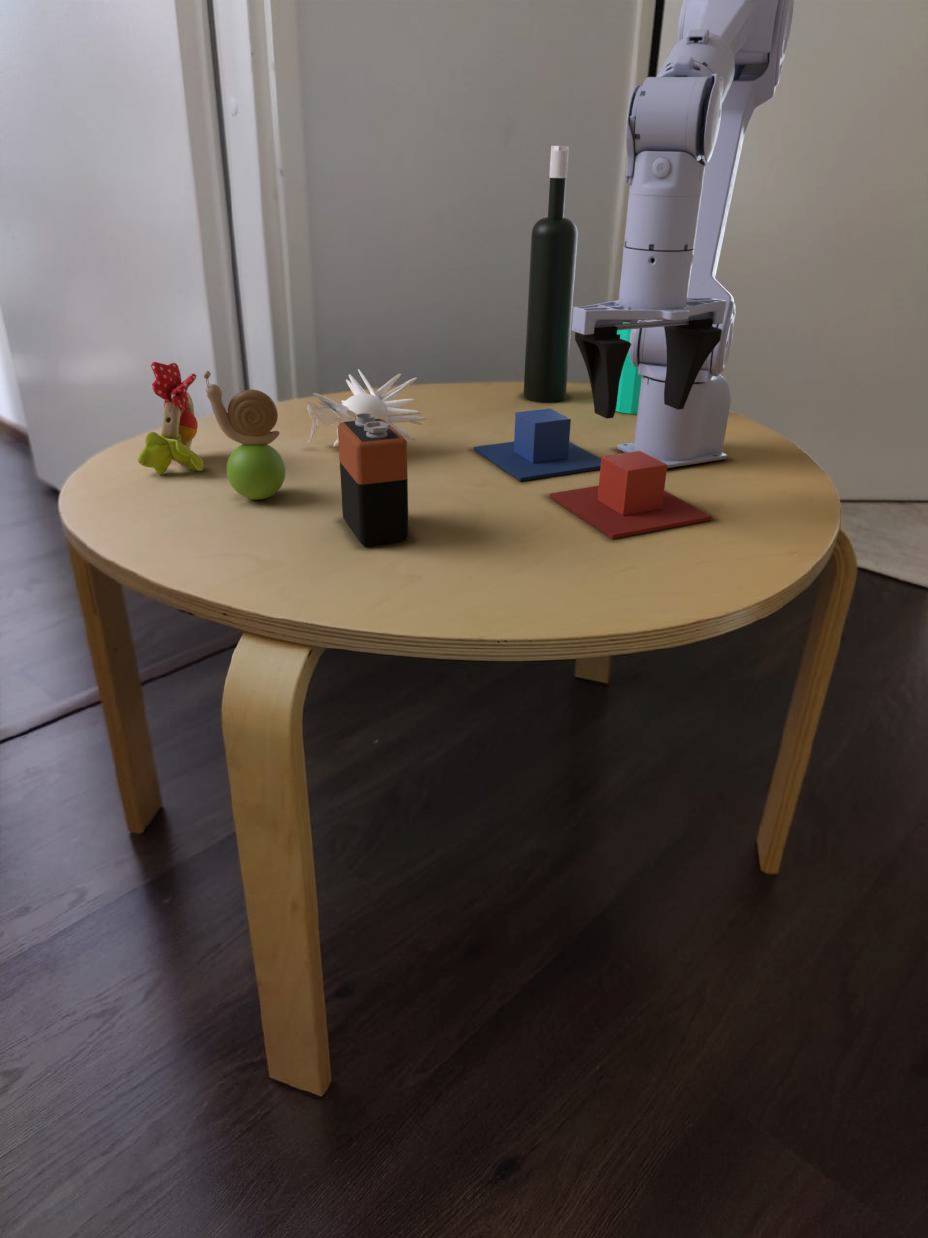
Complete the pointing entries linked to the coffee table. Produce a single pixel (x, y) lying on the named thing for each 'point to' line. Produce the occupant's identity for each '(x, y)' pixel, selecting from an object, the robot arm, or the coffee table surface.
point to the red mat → (621, 526)
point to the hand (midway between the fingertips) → (639, 410)
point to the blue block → (541, 435)
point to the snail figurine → (250, 441)
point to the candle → (628, 382)
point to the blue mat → (529, 471)
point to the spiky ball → (365, 407)
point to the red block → (631, 482)
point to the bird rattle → (172, 422)
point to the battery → (373, 480)
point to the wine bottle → (551, 292)
